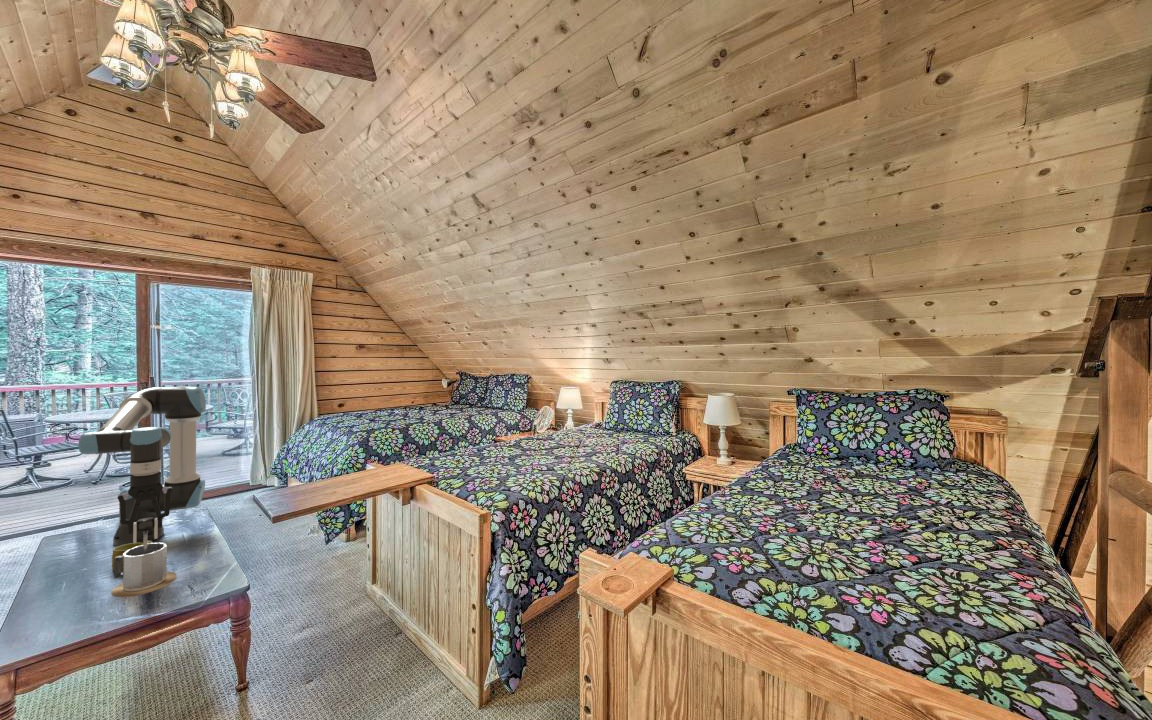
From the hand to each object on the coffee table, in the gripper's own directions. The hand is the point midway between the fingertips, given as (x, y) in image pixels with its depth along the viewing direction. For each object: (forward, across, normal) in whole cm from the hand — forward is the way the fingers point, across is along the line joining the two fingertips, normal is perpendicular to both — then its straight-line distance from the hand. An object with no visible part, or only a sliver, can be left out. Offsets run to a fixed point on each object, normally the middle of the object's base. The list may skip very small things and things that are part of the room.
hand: (145, 539), depth 147 cm
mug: (+16, -2, +21) cm, 27 cm away
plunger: (+13, 0, 0) cm, 13 cm away
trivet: (+16, 0, 0) cm, 16 cm away
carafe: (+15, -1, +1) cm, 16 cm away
